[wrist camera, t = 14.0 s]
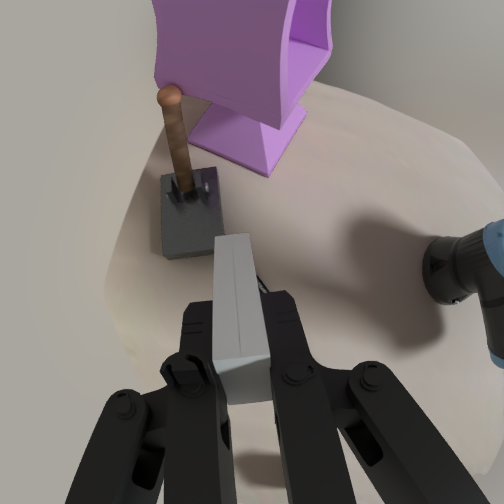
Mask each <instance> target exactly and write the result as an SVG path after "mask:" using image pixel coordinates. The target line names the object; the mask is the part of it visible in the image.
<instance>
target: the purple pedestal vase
mask: <svg viewBox="0 0 504 504" xmlns="http://www.w3.org/2000/svg"><path fill="white" fill-rule="evenodd" d="M331 3H332V0H152V4H153V8H154V12H155V16H156V24H157V53H156V63H155V73H154V78H155V81H156V83H157V86H158V88H160V89H161V88H162V87H164V86H166V85H175V86H177V87H178V88H179V89H180V90H181V92H182V95H187V96H191V97H196V98H200V99H204V100H207V101H210V102H213V103H212V104H211V105H210V107H209V108H208V109H207V111H206V112H205V113H204V115H203V116H202V118H201V119H200V120H199V122H198V123H197V125H196V126H195V128H194V129H193V130H192V132H191V133H190V135H189V136H188V138H187V140H188V143H191V144H193V145H196V146H198V147H200V148H203V149H205V150H208V151H210V152H212V153H215V154H217V155H219V156H222V157H224V158H226V159H228V160H231V161H233V162H235V163H237V164H240V165H242V166H244V167H246V168H248V169H251V170H253V171H255V172H257V173H259V174H261V175H263V176H265V177H269V176H270V174H271V172H272V171H273V169H274V167H275V166H276V164H277V162H278V161H279V159H280V157H281V156H282V154H283V153H284V151H285V149H286V148H287V146H288V144H289V143H290V141H291V139H292V138H293V136H294V134H295V133H296V131H297V130H298V128H299V126H300V125H301V123H302V121H303V120H304V118H305V117H306V114H307V111H306V110H305V109H304V108H303V107H302V106H301V105H300V104H299V103H298V102H299V100H300V98H301V97H302V95H303V94H304V92H305V91H306V89H307V88H308V86H309V85H310V83H311V82H312V81H313V79H314V78H315V77H316V75H317V74H318V73H319V71H320V70H321V69H322V68H323V66H324V65H325V64H326V62H327V61H328V59H329V58H330V55H331V51H332V48H333V45H332V36H331V25H330V10H331Z"/></svg>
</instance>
